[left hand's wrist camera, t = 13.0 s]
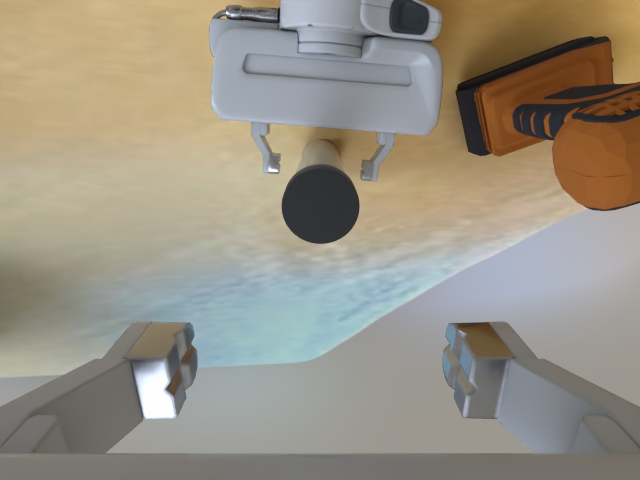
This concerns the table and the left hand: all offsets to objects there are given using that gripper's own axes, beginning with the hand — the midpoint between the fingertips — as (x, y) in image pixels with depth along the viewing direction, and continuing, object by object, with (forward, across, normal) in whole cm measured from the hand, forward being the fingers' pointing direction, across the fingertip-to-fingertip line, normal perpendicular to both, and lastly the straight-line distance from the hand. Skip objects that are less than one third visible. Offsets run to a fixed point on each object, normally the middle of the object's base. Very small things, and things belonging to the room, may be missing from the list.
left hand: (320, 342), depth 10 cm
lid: (+14, 0, 0) cm, 14 cm away
